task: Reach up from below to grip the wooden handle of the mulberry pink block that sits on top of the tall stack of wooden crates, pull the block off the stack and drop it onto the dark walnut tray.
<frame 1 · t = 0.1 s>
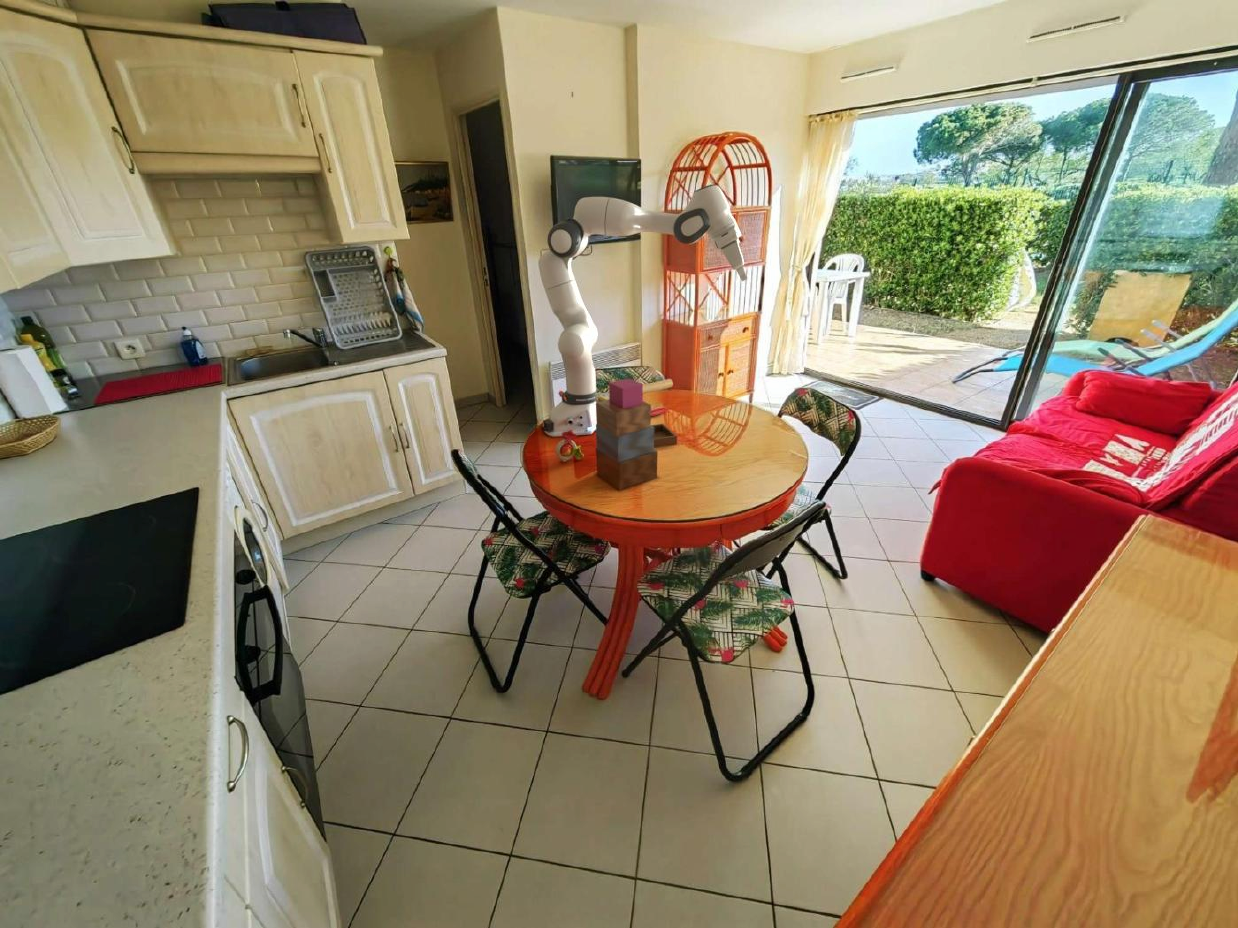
hand: (744, 278, 164), 54 cm above the table, tool tilted 30°, fingers open, 8 cm apart
candy bar: (650, 416, 205), on the table
walnut tray: (648, 440, 184), on the table
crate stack: (626, 475, 160), on the table
puzzle game: (615, 408, 214), on the table
bird rattle: (570, 460, 170), on the table
mulberry block: (625, 403, 149), point 24 cm above the table, touching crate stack
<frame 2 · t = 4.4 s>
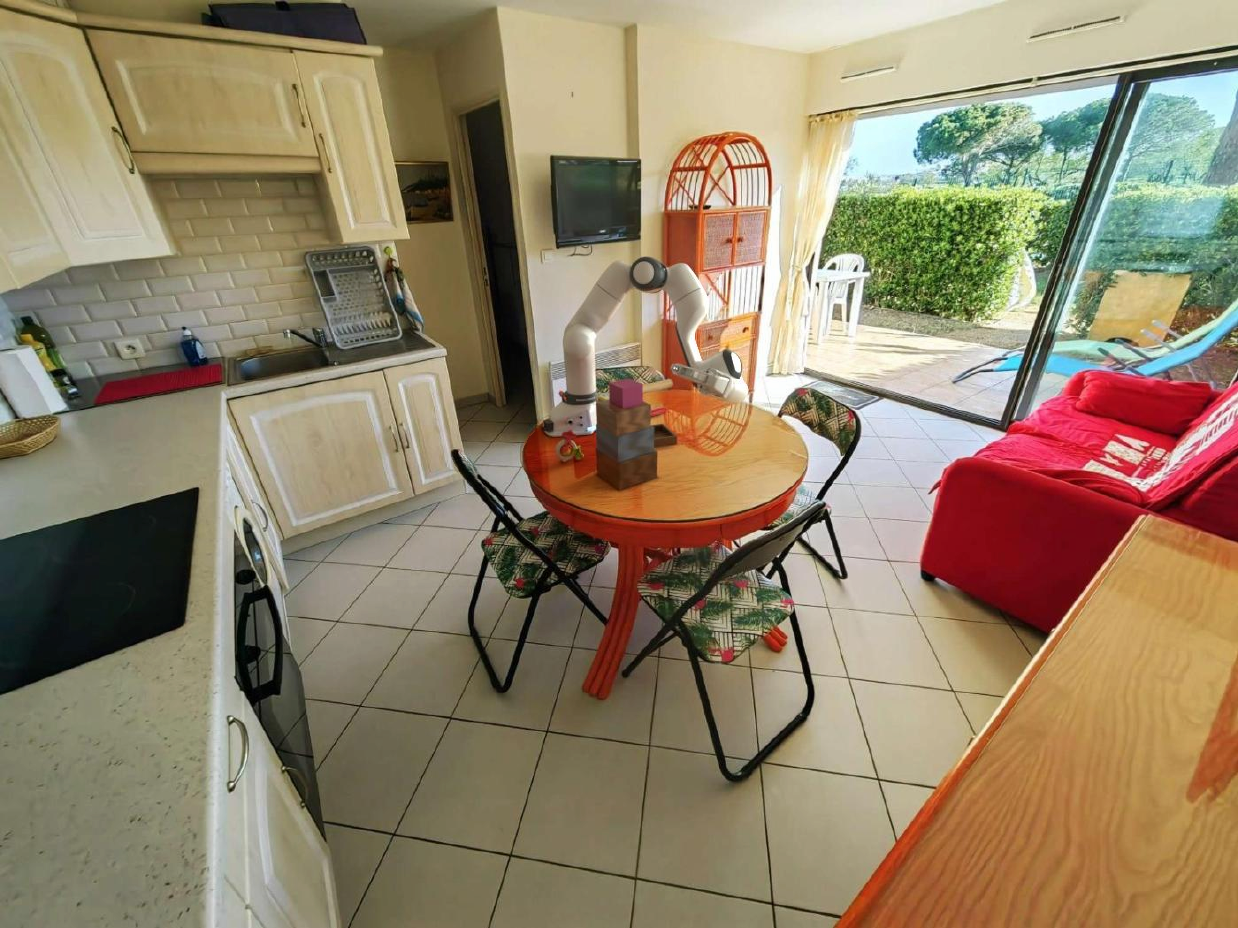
hand: (682, 370, 156), 30 cm above the table, tool pointing upward, fingers open, 8 cm apart
nothing on the table moved.
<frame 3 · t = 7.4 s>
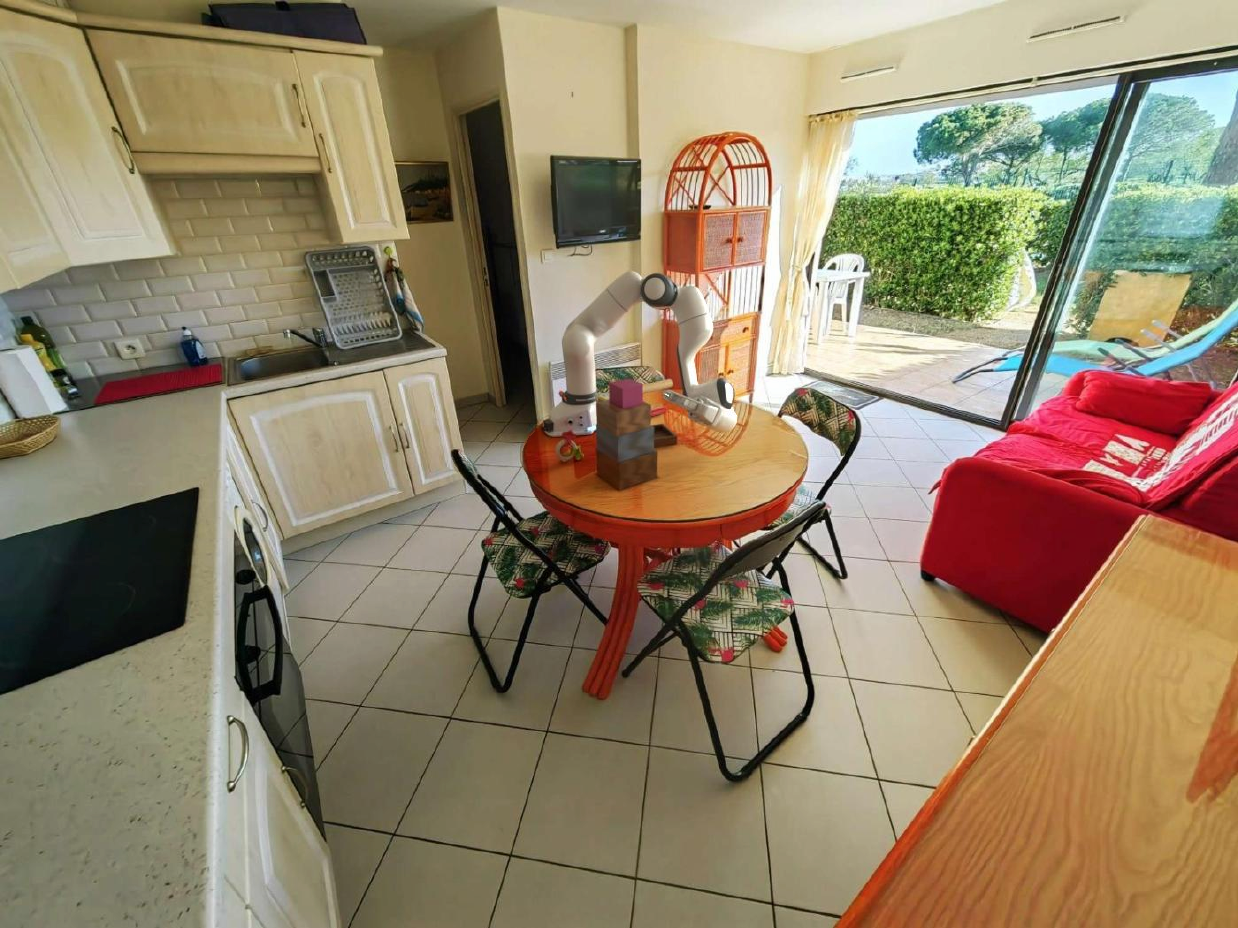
hand: (673, 397, 159), 22 cm above the table, tool pointing upward, fingers open, 8 cm apart
nothing on the table moved.
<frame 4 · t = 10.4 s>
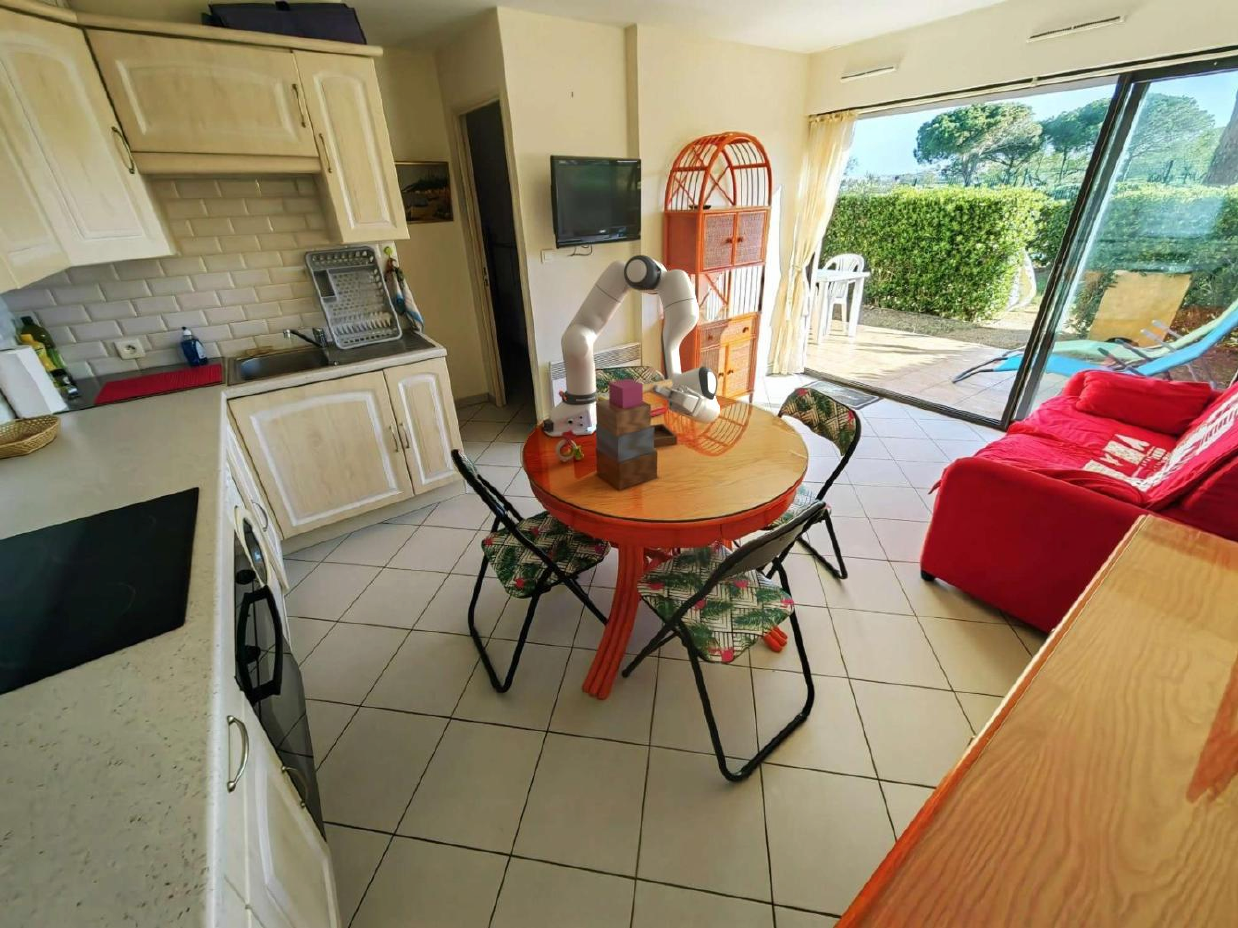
hand: (651, 386, 152), 27 cm above the table, tool pointing upward, fingers closed on mulberry block, 2 cm apart
mulberry block: (625, 403, 149), point 24 cm above the table, touching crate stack, gripper
everything else where it was.
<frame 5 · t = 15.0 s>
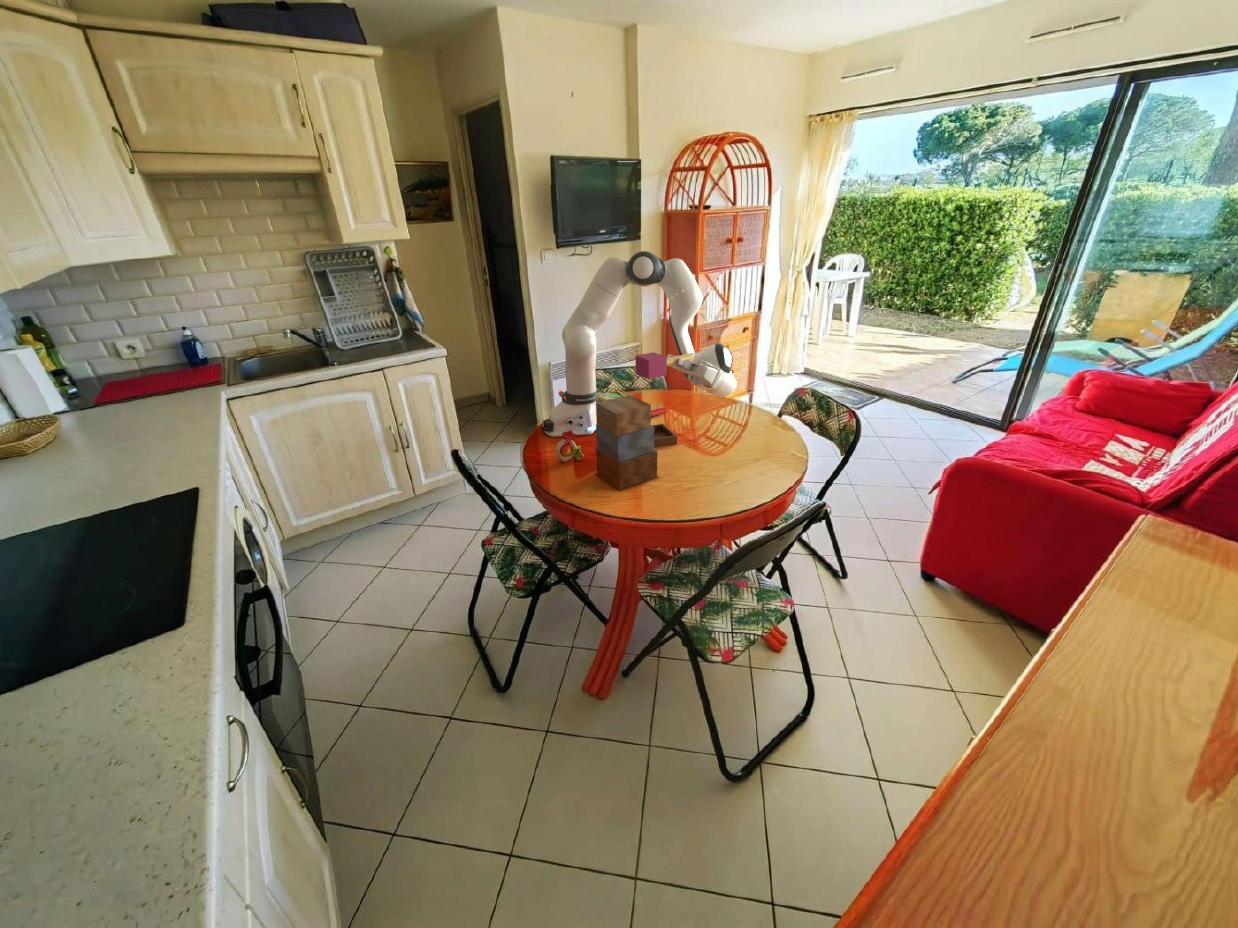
hand: (674, 359, 164), 31 cm above the table, tool pointing upward, fingers closed on mulberry block, 2 cm apart
mulberry block: (651, 374, 161), point 28 cm above the table, touching gripper
everything else where it was.
when the fingers open (18 cm above the table, at t = 19.8 s): mulberry block drops 11 cm, resting on arm, walnut tray.
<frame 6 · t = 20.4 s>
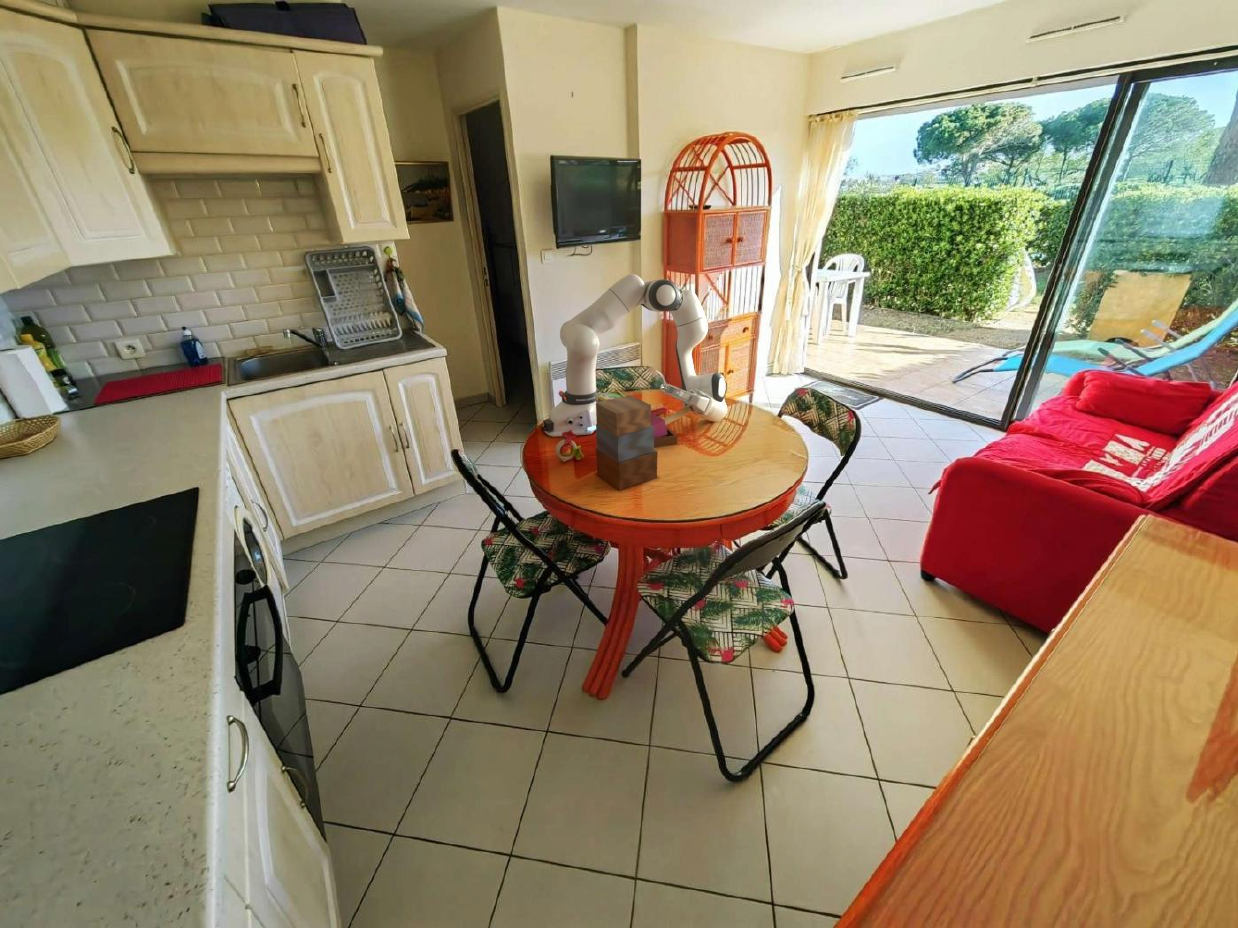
hand: (669, 389, 181), 17 cm above the table, tool pointing upward, fingers open, 8 cm apart
mulberry block: (654, 435, 184), point 2 cm above the table, tilted 14°, touching arm, walnut tray
everything else where it was.
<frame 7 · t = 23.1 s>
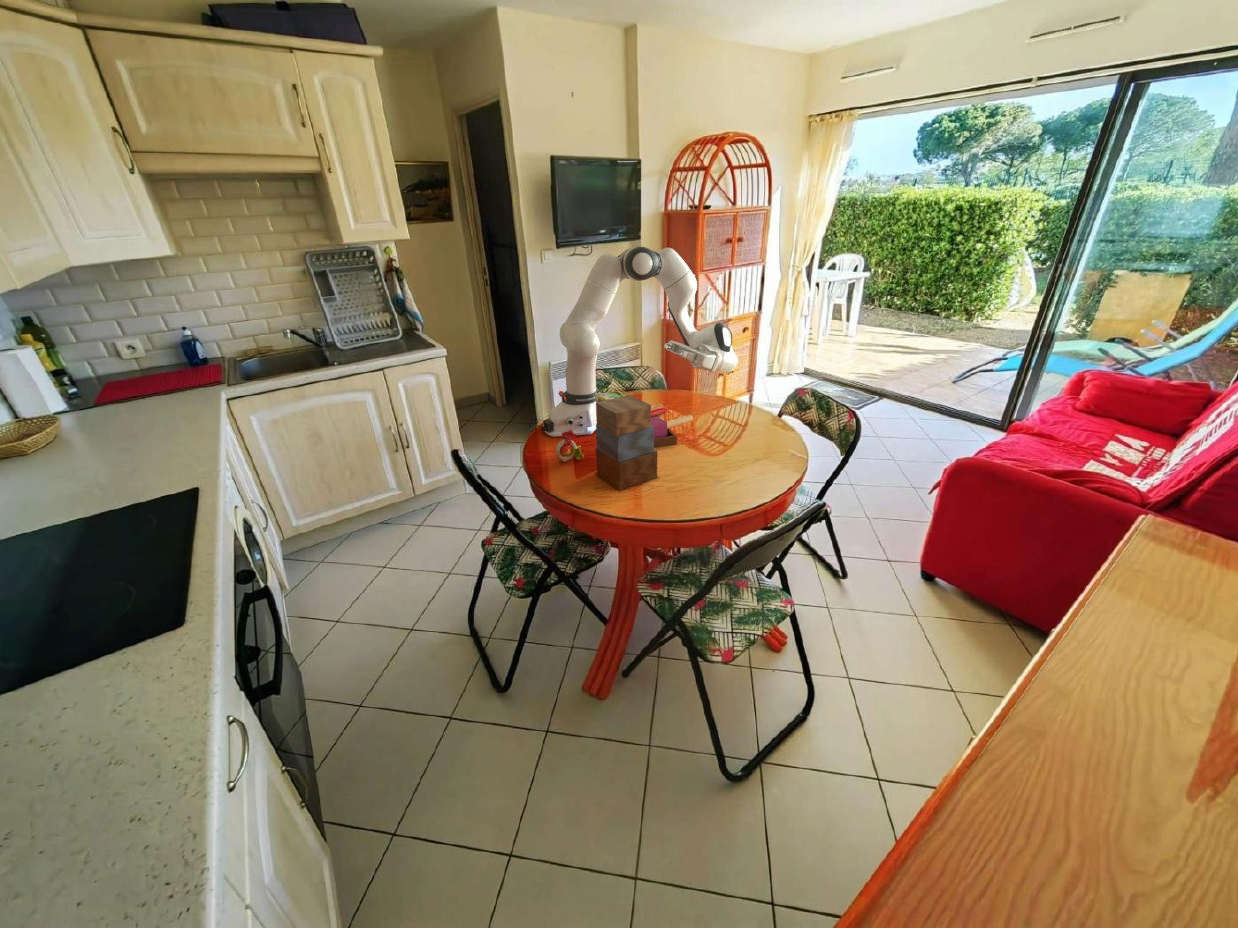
hand: (673, 349, 175), 32 cm above the table, tool pointing upward, fingers open, 8 cm apart
mulberry block: (654, 436, 184), point 1 cm above the table, touching walnut tray
everything else where it was.
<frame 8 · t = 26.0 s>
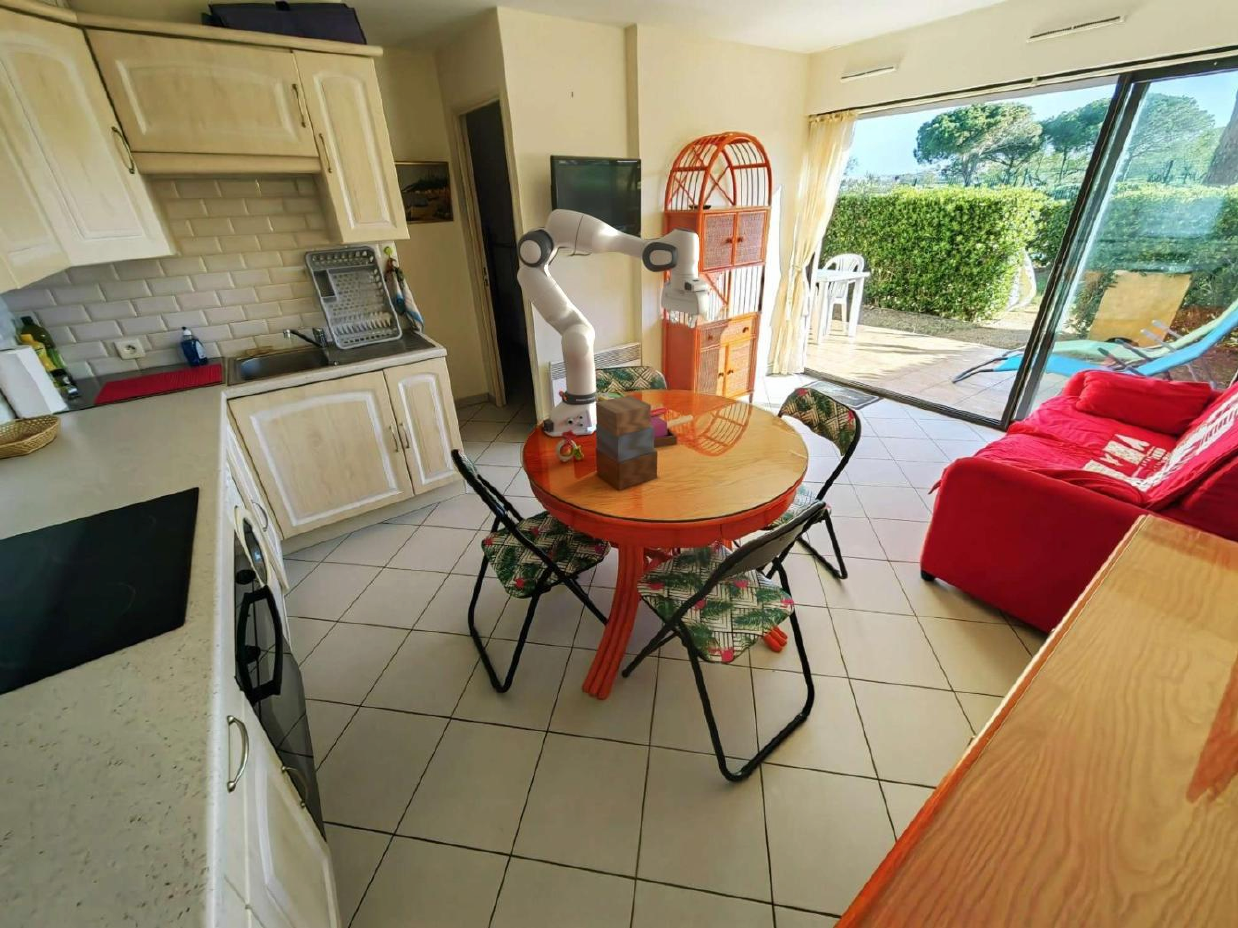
hand: (682, 325, 173), 39 cm above the table, tool pointing down, fingers open, 8 cm apart
nothing on the table moved.
at the end: mulberry block inside the target area on the walnut tray (2.2 cm from its centre), point 1.0 cm above the walnut tray's base; the gripper is holding nothing; mulberry block moved 37.7 cm from its start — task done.
